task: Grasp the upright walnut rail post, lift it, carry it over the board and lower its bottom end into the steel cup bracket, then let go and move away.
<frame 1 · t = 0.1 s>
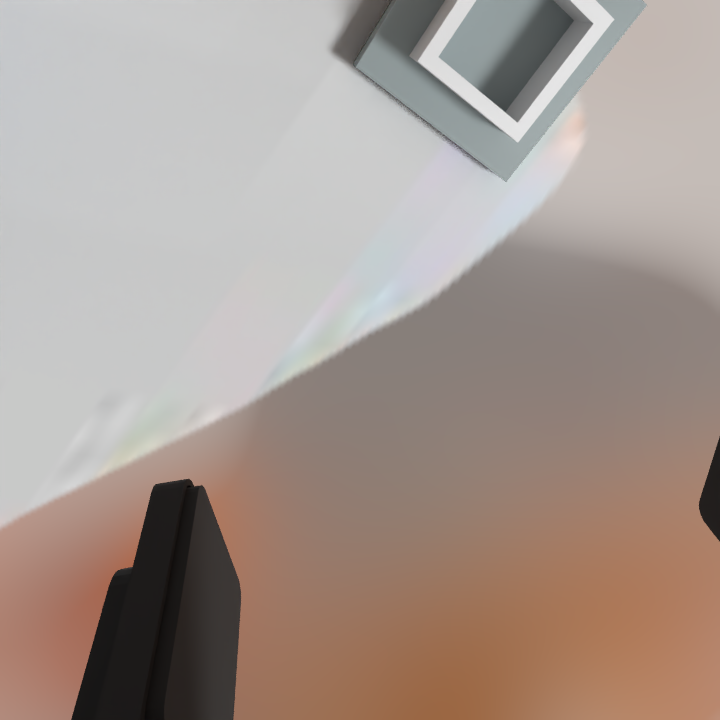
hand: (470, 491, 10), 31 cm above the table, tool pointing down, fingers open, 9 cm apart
cup bracket: (493, 33, 34), on the table
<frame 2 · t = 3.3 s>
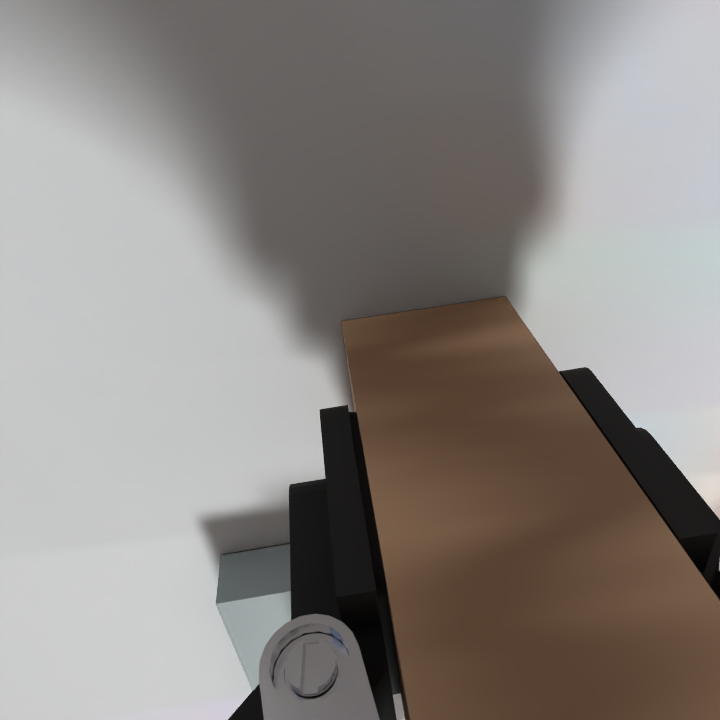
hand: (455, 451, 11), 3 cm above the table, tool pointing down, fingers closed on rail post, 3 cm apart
cup bracket: (440, 638, 20), on the table
rail post: (427, 376, 14), on the table, touching gripper
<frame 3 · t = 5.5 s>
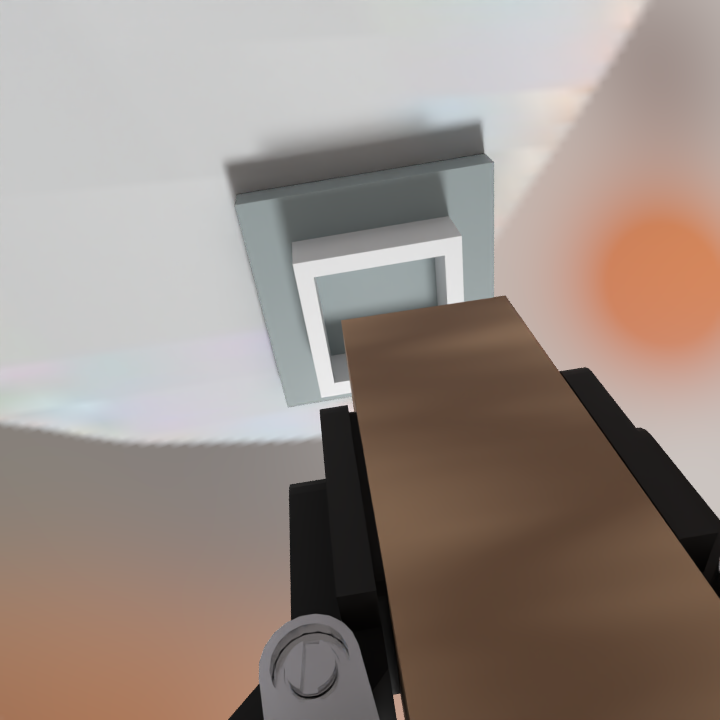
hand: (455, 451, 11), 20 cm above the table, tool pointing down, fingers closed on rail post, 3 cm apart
cup bracket: (375, 285, 31), on the table
rail post: (427, 375, 14), point 17 cm above the table, touching gripper
when the fingers open (5 cm above the table, at t = 8.1 s): rail post stays where it is, resting on cup bracket.
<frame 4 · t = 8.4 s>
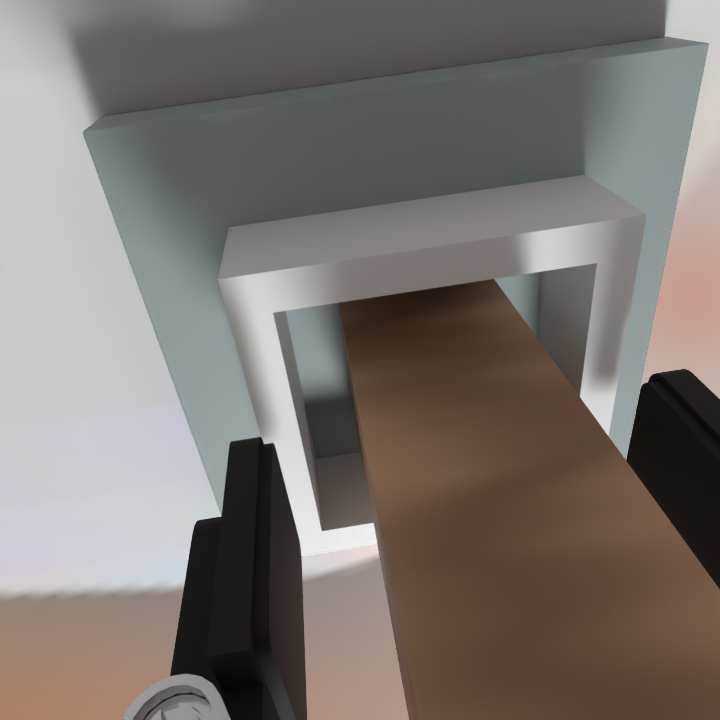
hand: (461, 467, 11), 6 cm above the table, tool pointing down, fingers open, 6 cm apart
cup bracket: (407, 321, 16), on the table
rail post: (418, 352, 14), point 2 cm above the table, touching cup bracket
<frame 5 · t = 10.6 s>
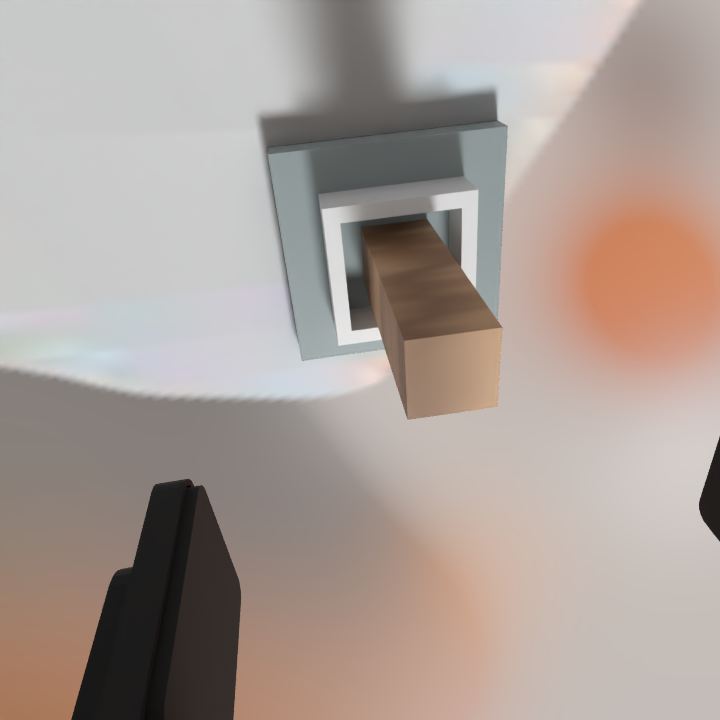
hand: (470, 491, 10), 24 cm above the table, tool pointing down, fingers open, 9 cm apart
cup bracket: (390, 244, 33), on the table
rail post: (395, 254, 32), point 1 cm above the table, touching cup bracket
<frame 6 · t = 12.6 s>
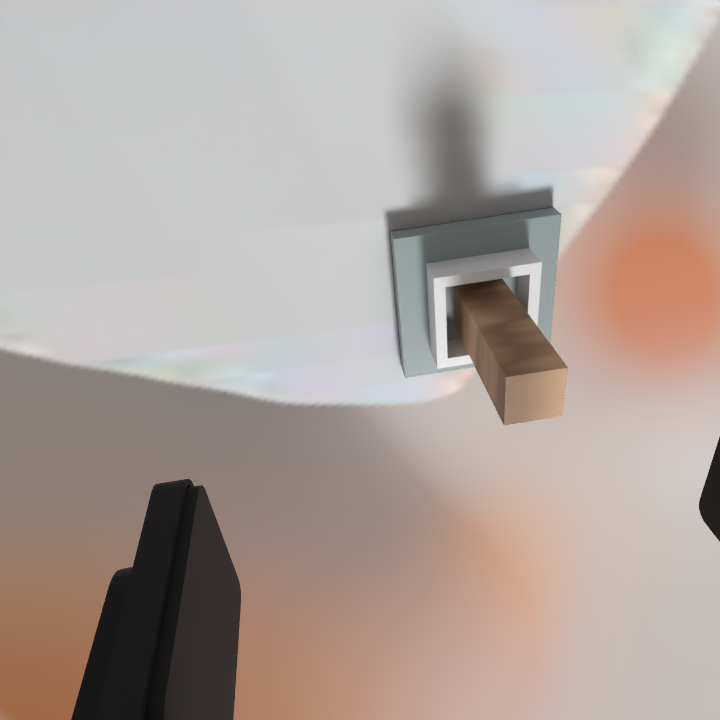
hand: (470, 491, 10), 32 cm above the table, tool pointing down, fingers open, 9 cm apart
cup bracket: (472, 292, 45), on the table
rail post: (477, 302, 44), point 1 cm above the table, touching cup bracket
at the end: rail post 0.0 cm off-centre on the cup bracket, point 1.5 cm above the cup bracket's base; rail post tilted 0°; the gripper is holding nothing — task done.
